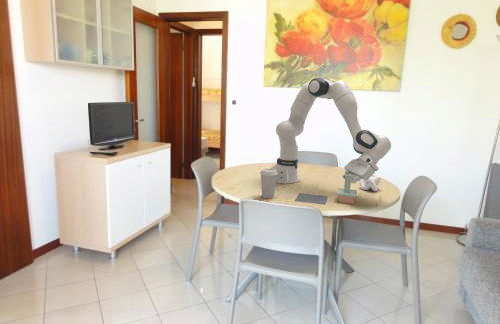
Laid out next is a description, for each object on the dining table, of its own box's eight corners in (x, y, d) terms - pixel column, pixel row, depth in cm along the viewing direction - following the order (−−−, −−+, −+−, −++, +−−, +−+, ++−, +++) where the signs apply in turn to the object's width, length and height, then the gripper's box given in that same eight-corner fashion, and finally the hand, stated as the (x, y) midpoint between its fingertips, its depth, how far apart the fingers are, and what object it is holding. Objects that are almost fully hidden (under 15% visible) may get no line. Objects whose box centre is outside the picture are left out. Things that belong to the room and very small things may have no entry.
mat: (294, 201, 186) (294, 201, 186) (299, 193, 201) (299, 192, 201) (325, 205, 182) (325, 204, 182) (327, 196, 197) (328, 196, 197)
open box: (338, 202, 187) (338, 194, 186) (338, 198, 194) (339, 190, 193) (353, 204, 184) (354, 196, 183) (354, 200, 192) (354, 192, 191)
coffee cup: (280, 197, 194) (281, 170, 191) (269, 200, 187) (270, 172, 184) (266, 193, 200) (267, 167, 197) (255, 196, 193) (256, 169, 190)
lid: (336, 194, 185) (338, 176, 183) (337, 189, 194) (339, 172, 192) (356, 197, 182) (358, 178, 180) (356, 191, 192) (358, 173, 190)
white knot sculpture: (356, 190, 212) (357, 175, 210) (362, 186, 222) (363, 172, 220) (375, 193, 206) (377, 178, 204) (380, 189, 216) (382, 174, 214)
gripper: (353, 154, 196) (335, 171, 196) (373, 161, 176) (354, 181, 176) (359, 161, 198) (342, 179, 198) (380, 170, 178) (361, 189, 178)
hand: (347, 180), depth 187 cm, fingers open, 8 cm apart
